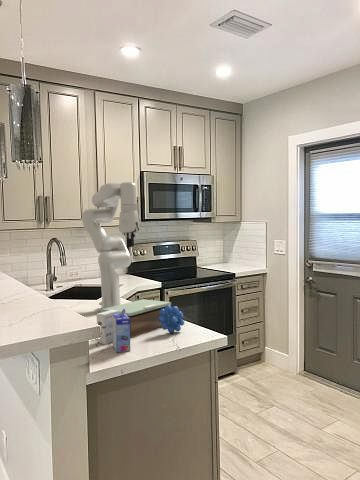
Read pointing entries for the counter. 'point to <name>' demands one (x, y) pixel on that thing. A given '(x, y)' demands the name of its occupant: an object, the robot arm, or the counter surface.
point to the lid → (138, 306)
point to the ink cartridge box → (121, 332)
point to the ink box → (106, 326)
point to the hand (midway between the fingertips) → (130, 246)
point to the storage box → (145, 322)
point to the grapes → (171, 318)
